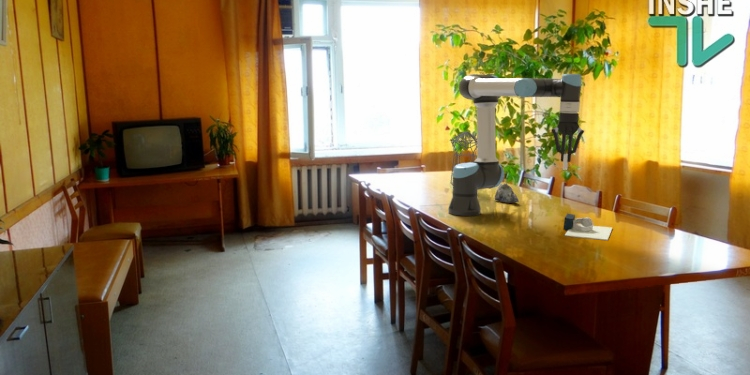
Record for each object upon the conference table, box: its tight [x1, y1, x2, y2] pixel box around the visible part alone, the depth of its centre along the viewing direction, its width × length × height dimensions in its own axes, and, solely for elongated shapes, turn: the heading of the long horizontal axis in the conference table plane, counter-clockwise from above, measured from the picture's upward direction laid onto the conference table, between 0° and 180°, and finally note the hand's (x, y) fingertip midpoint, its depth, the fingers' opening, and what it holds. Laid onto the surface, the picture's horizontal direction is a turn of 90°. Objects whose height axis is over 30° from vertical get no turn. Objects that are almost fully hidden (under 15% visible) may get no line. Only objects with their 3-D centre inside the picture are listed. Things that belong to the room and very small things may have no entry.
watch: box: [562, 213, 594, 232], centre depth 240 cm, size 6×8×11 cm
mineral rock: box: [494, 183, 520, 204], centre depth 300 cm, size 13×11×10 cm
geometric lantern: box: [449, 131, 477, 187], centre depth 328 cm, size 16×16×35 cm
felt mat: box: [564, 223, 613, 241], centre depth 237 cm, size 16×22×1 cm
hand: (565, 169), depth 240 cm, fingers closed
